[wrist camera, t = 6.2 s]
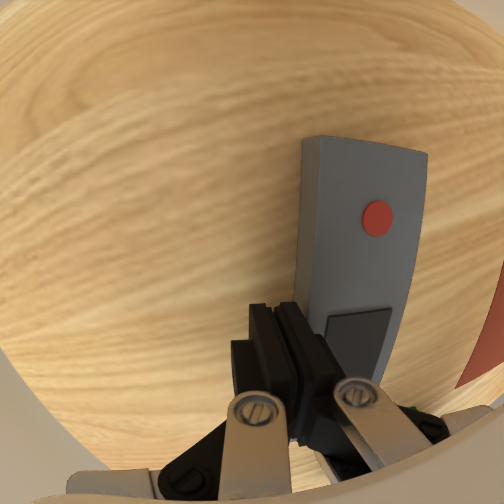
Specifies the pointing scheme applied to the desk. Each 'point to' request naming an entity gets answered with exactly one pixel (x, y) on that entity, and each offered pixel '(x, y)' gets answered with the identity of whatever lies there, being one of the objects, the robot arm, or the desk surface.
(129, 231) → the desk surface
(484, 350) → the mat
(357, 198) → the remote
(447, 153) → the desk surface
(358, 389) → the robot arm
